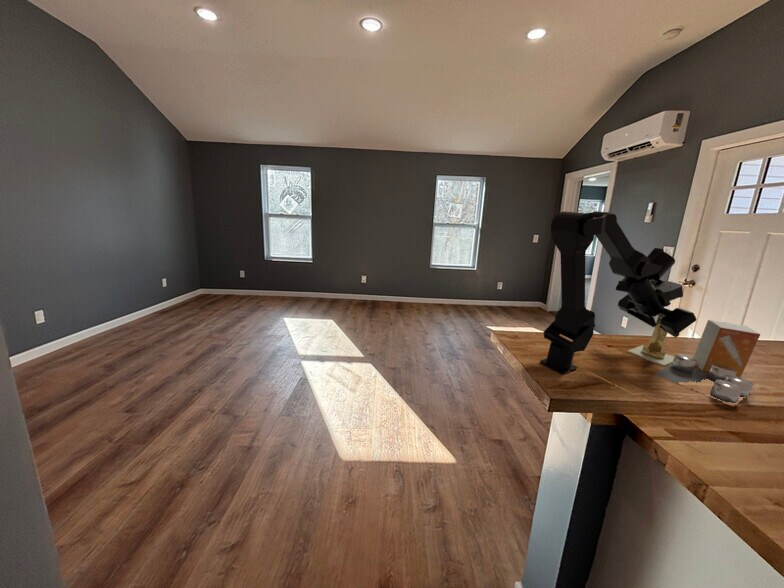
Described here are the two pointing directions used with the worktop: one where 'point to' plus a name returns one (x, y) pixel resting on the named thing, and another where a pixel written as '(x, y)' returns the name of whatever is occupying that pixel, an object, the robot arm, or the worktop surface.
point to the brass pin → (656, 342)
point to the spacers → (717, 379)
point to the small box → (725, 346)
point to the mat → (681, 375)
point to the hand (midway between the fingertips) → (665, 331)
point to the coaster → (663, 362)
